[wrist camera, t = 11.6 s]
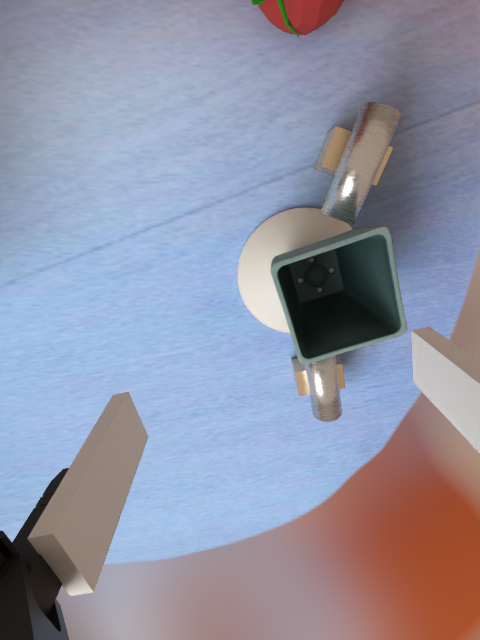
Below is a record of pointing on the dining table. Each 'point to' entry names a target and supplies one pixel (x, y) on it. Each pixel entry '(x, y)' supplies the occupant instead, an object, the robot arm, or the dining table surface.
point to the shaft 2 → (356, 159)
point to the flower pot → (340, 293)
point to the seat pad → (274, 240)
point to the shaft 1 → (321, 385)
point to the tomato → (298, 13)
